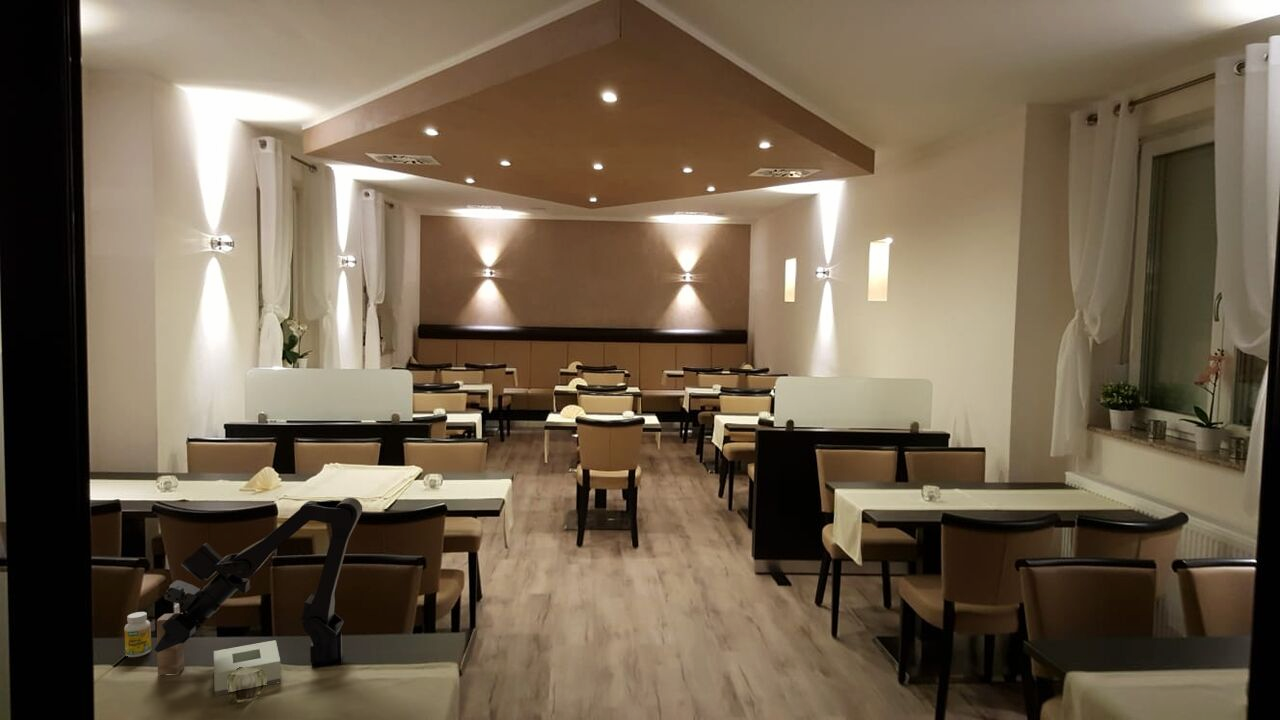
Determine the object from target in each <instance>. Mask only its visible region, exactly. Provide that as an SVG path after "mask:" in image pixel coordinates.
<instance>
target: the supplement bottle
mask: <svg viewBox="0 0 1280 720" xmlns="http://www.w3.org/2000/svg"><path fill="white" fill-rule="evenodd" d="M147 615H148V614H147V612H146V611H137V612H132V613H130V614H128V615H127V616H126V620H127V624H125V626H124V629H123V630H124V653H125V656H126V657H127V656H128V657H127V658H137V657H142V656H145V655H147V654H149V653H150V652H151V651H152V632H151V631H152V630H151V629H152V627H151V622H150V620H148V616H147Z"/></svg>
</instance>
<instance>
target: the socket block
mask: <svg viewBox="0 0 1280 720" xmlns="http://www.w3.org/2000/svg"><path fill="white" fill-rule="evenodd" d="M278 649H279V648H278V644H277V640H276V639H275V640H269V641H263V642H262V641H261V642H258V643H252V644H246V645H239V646H236V647H230V648H224V649H219V650H213V673H214V674H213V677H214V685H213V686H214V697H219V696H222V695H228V694H229V693H228V690H227V676H228V674H230V673H232V672H233V671H235V670H236V669H237V668H239V667H243V668H245V667H246V668H250V667H257V668H261V669H263V670H264V671H265V672H266V676H267V683H266V684H267V686H271V684H272V685H275V684H274V683H276V684H278V683H277V682H280V681H281V682H282V680H281V678H282V677H281V676H282V675H281V658H280V654H279V653H280V652H279V650H278Z"/></svg>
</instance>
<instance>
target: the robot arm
mask: <svg viewBox="0 0 1280 720" xmlns="http://www.w3.org/2000/svg"><path fill="white" fill-rule="evenodd" d="M362 513H363V505H362V504H361V502H360V500H358V499H357V498H354V497H346V498H343V499H342V500H340V499H339V500H338V499H337V500H336V499H334V500H333V499H331V500H308V501H307V502H305V503H304V504H302V505H301V506H300V508H299V509H298V510H297V511H295V513H293V514H292V515H291V516H290V517H289V518H287V519H286V520H285V521H284V522H282V523H281V524H280V525H278V527H276V528H275V529H274V530H273V531H272V532H270V533H269V534H268V535H267V536H266V537H264V538H263V539H260V540H259V541H257V542H254V543H253V544H251V545H249V546H248V547H246V548H245V549H243V550H242V551H241V552H238V553H232V554H227V555H226V556H224V557H222V556H221V555H220V554H219V553H217V551H216V550H214V549H213V548H212V546H211V545H210V544H209V543H208V542H206V543H204V544H202V545H201V546H200V547H199V548H198V549H197V550H196V551H194V552H193V553H191V554H190V555H189V556H187V558H186V559H184V561H182V563H181V564H180V565H181V566H182V567H183V568H184V569H185V570H187V571H188V572H189V573H190V574H191V575H192V576H193V577H195V579H197V580H198V581H201V582H203V581H204V580H205V581H208V580H209V579H211V577H213V576H214V575H215V574H216V573H218V574H216V575H215V576H214V577H213V578H212V579H211V580H210V581H209V582H208V583H207V584H206V585H204V586H202V587H201V588H199V587H197V586H196V585H194V584H191V583H188V582H185V581H183V580H181V579H178V580H175V581H173V582H172V583H171V584H170V585H169V587H168V588H167V590H166V591H165V592H164V597H163V598H164V600H166V601H168V602H172V603H174V604H179V605H182V606H181V607H180V610H182V611H183V612H185V615H184V613H183V614H181V613H182V612H178V613H177V612H176V613H175V612H174V613H175V614H173V615H172V616H171V617H170V618H169V619H168V620H167V621H166V622H165V623H164V624H162V627H163V629H164V630H165V633H164V635H163V637H162V638H161V640H160V641H159V643H158V644H157V643H156V645H155V648H154V651H156V653H157V652H160V651H163V650H165V649H167V648H170V647H172V646H175V645H177V644H180V643H184V644H185V643H186V642H187V641H188V640H189V639H190V637H192V636H193V635H194V634H195V633H196V632H197V626H199V625H203V624H204V623H205V622H206V621H208V620H209V619H210V618H212V616H213V615H215V613H217V611H218V610H220V607H221V606H222V605H223V604H224V603H225V602H226V601H227V600H228V599H230V597H232V596H233V594H235V592H236V591H239V592H240V593H241V594H246V593H247V592H248V591H249V590H250V589H251V584H250V582H251V579H250V578H251V576H253V575H254V574H255V573H256V572H257V571H258V570H259V569H260V568H261V567H262V566H263V565H264V563H265V562H267V560H268V559H269V558H270V557H271V555H272V554H273V553H274V552H275V550H277V549H278V548H279V547H280V546H281V545H283V544H284V543H285V542H286V541H287V540H289V538H291V537H292V536H293V535H294V534H296V533H297V532H298V531H299V530H300V529H302V528H303V527H304V526H305V525H307V524H308V523H309V522H310V521H315V522H319V523H323V524H330V535H331V536H330V541H329V544H328V545H329V546H328V549H327V551H326V556H325V558H324V559H325V561H324V564H323V568H322V570H321V574H320V579H319V581H318V585H317V589H316V593H315V595H314V594H310V596H309V597H308V598H307V600H306V601H305V602H304V606H303V614H302V616H301V617H300V619H299V620H300V621H302V624H301V625H302V629H303V630H304V632H305V633H307V634H308V635H309V637H310V640H311V642H310V648H309V649H310V651H309V652H310V653H309V655H310V657H309V659H310V663H311V664H312V666H311V668H312V669H318V668H325V667H332V666H339V665H342V664H343V657H344V656H343V654H344V653H343V649H342V648H343V647H342V646H343V644H342V643H343V639H342V633H343V632H342V631H340V630H341V629H342V627H343V624H344V619H343V618H342V617H340V616H339V615H338V614H337V613H336V612H335V609H336V608H335V606H336V605H335V604H336V600H335V591H336V588H337V584H338V580H339V578H340V577H339V576H340V573H341V570H342V566H343V561H344V560H345V559H344V558H345V555H346V552H347V551H346V550H347V547H348V544H349V540H350V537H351V535H352V534H353V531H354V529H355V527H356V525H357V524H358V521H359V519H360V517H361V514H362Z"/></svg>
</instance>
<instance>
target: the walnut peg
mask: <svg viewBox="0 0 1280 720" xmlns="http://www.w3.org/2000/svg"><path fill="white" fill-rule="evenodd" d="M180 613H181V614H183V615H184V613H183V612H180ZM173 614H175V612H173V613H164V614H163V615H161V616H160V617H158V619H156V645H157V644H158V643H159V641H160V640H161V638H162V637H163V635H164V633H165V630H164V629H163V627H162V624H164V623H165V622H166V621H167V620H168V619H169V618H170V617H171V616H172V615H173ZM184 644H185V642H184V643H180V644H177V645H175V646H172V647H170V648H167V649H165V650H163V651H160V652H157V651H156V653H157V655H156V656H157V658H156V659H157V676H158V675H166V674H177V673H178V672H179V671H180V670H181V669H182V668H183V667H184V668H185V648H184V646H185V645H184ZM184 668H183V669H184ZM183 669H182V670H183ZM182 670H181V671H182ZM181 671H180V672H181ZM180 672H179V673H180ZM179 673H178V674H179ZM178 674H177V675H178Z"/></svg>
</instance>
